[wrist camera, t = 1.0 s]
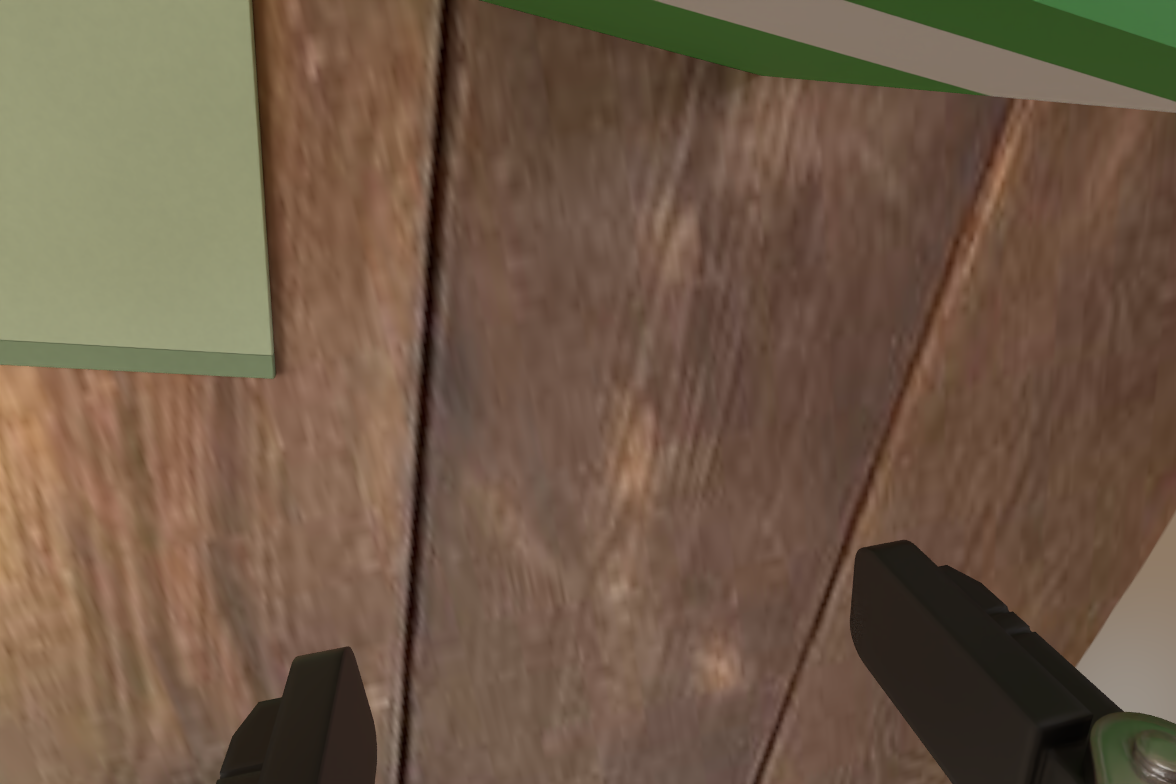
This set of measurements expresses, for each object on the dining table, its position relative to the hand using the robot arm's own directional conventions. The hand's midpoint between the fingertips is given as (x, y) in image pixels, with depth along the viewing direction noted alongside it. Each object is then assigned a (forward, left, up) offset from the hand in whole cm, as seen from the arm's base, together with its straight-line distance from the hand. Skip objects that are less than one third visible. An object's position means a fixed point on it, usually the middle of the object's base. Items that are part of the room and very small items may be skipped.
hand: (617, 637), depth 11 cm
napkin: (-1, -17, -24) cm, 29 cm away
